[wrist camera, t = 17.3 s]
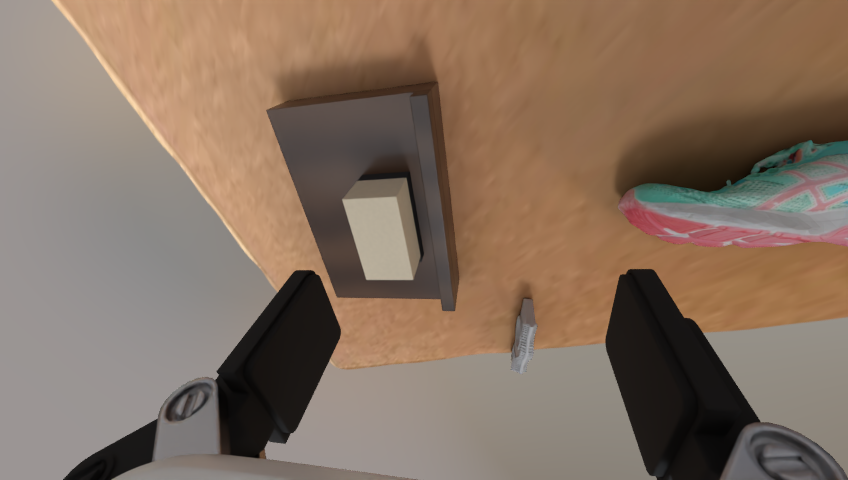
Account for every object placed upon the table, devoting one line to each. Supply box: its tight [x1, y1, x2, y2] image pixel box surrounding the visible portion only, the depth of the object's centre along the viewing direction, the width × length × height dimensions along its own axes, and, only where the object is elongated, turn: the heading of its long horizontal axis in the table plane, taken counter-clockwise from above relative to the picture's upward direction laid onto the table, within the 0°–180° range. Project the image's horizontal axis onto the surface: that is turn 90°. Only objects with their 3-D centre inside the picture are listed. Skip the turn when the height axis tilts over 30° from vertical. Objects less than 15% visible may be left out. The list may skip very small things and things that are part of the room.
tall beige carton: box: [342, 172, 424, 280], centre depth 34 cm, size 10×5×6 cm, turn 8°
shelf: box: [266, 82, 459, 311], centre depth 37 cm, size 24×16×6 cm, turn 8°
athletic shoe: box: [618, 140, 848, 248], centre depth 28 cm, size 27×9×12 cm
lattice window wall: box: [511, 299, 538, 374], centre depth 45 cm, size 12×2×6 cm, turn 1°
